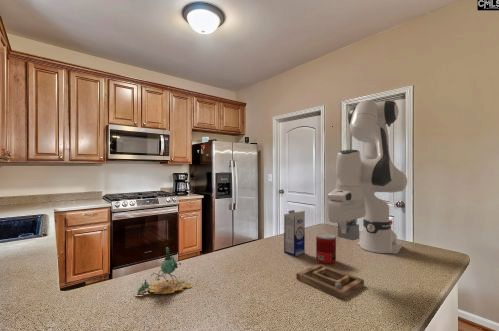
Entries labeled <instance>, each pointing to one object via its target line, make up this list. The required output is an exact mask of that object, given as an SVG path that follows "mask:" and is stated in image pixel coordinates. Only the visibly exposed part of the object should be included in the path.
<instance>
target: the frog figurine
mask: <svg viewBox="0 0 499 331" xmlns="http://www.w3.org/2000/svg"><path fill="white" fill-rule="evenodd" d="M165 252H166V253H165V254H166V256H165V257H164V259H163V260H162V261H161V263H160V264H161V265H160V269H161V270H160V272H162V274H160V273H156V272H153V273H152V274H150V276H151V277H152V276H153V275H156V277H155V278H154V280H155V282H150V283H149V282H148V281H147V279H144V283H142V284H141V286H140V287H139V288H138V290H137V292H136V293H135V295H136V294H137V295H146V294H144V293H146V292H147V290H148V291H149V292H151V293H153V294H161V295H165V294H166V295H167V294H173V293H175V292H178V291H179V292H180V291H184V289H191V287H192V288H193V284H191V283H188V282H185V280H178V279H177V278H178V277H177V276H176V275H174V274H172V273H174V272H175V270H176V269H178V267H179V266H178V265H181V266H182V262H179V263H178V262H177V261H176V259H174V258H175V257H174V256H173V253H171V252H170V248H169V247H168V246H167V247H166V246H165ZM170 253H171V254H170ZM166 275H169V276H170V277H171V279H167V278H166V277H167V276H166ZM160 277H163V278H164V279H165V280H160ZM173 277H174V278H175V279H174V278H173ZM156 280H157V281H156ZM146 296H147V295H146Z"/></svg>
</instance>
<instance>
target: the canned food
mask: <svg viewBox="0 0 499 331" xmlns="http://www.w3.org/2000/svg"><path fill="white" fill-rule="evenodd" d="M315 239H316V240H315V242H316V243H315V244H316V246H315V250H316V251H315V253H316V261H317V262H318V264H321V265H334V264H336V261H337V237H336V235H335V234H331V233H324V232H323V233H320V232H319V233H317V234H316V237H315Z"/></svg>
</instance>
